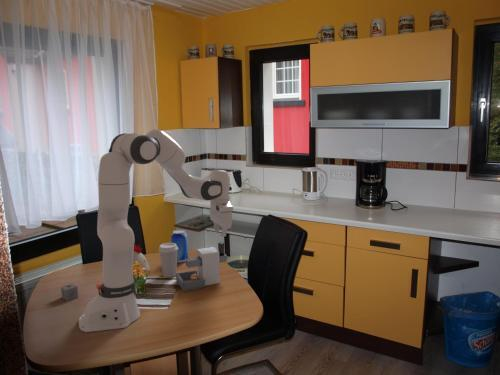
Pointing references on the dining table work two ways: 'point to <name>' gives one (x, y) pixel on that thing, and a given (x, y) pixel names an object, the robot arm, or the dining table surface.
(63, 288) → the grey cube with hole
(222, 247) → the shaft
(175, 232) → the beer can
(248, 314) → the dining table surface
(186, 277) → the tray
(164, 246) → the coffee cup
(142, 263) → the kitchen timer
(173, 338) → the dining table surface
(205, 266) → the block
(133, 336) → the dining table surface
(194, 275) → the copper ball
